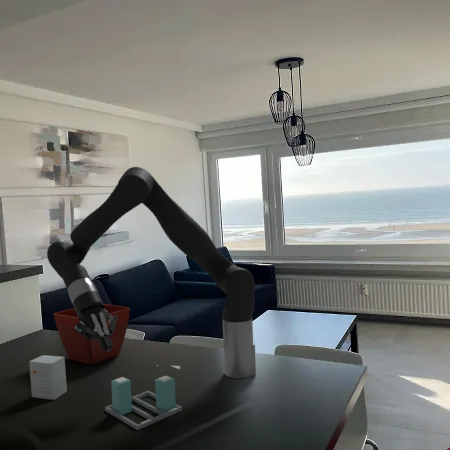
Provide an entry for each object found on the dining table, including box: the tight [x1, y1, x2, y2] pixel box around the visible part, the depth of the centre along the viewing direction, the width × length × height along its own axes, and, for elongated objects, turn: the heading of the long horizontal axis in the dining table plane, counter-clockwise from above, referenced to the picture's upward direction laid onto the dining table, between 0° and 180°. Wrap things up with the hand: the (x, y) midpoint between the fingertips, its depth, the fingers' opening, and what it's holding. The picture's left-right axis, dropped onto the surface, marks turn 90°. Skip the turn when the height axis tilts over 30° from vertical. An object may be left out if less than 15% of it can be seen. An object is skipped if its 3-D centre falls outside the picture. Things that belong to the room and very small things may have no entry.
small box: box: [29, 354, 68, 401], centre depth 130 cm, size 8×6×10 cm
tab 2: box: [154, 375, 177, 413], centre depth 115 cm, size 4×4×8 cm
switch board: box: [104, 390, 183, 431], centre depth 116 cm, size 15×14×2 cm
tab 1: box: [110, 376, 133, 416], centre depth 115 cm, size 4×4×8 cm
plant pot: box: [53, 303, 131, 366], centre depth 161 cm, size 19×19×17 cm
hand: (109, 349), depth 121 cm, fingers closed
